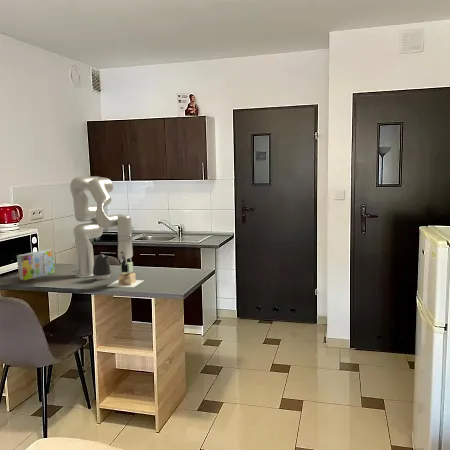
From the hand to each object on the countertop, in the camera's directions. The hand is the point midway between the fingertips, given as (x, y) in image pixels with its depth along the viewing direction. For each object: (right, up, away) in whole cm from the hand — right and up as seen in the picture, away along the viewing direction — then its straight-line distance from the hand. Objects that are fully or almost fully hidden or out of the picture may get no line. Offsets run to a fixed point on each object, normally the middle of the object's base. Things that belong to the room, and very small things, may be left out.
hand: (126, 270), depth 253 cm
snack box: (-61, -7, +28) cm, 67 cm away
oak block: (0, -7, +1) cm, 7 cm away
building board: (-1, -8, +1) cm, 8 cm away
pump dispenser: (-17, -7, +15) cm, 24 cm away
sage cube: (0, -1, 0) cm, 1 cm away
